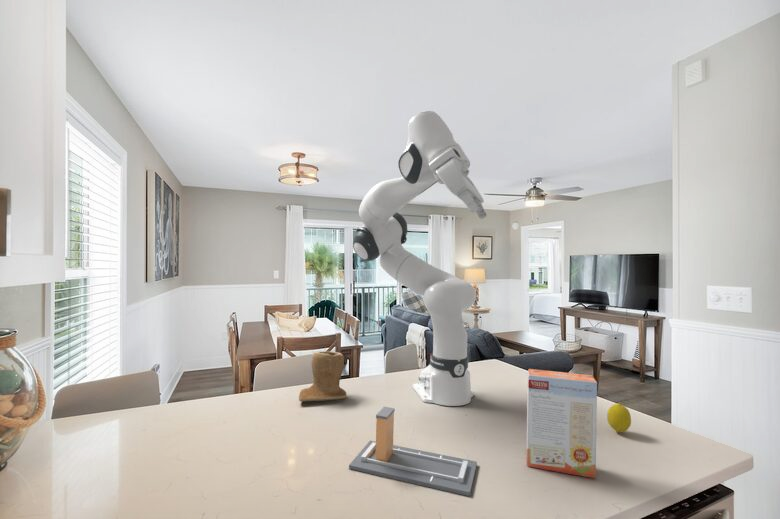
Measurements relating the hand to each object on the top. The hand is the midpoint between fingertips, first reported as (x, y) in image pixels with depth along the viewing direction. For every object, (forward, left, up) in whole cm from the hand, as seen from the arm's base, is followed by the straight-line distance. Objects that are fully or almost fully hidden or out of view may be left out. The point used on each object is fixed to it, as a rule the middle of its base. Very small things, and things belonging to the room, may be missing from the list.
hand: (479, 214), depth 88 cm
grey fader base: (-1, -15, -57) cm, 59 cm away
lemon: (+3, +45, -57) cm, 73 cm away
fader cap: (-6, -20, -57) cm, 60 cm away
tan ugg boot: (-48, -25, -57) cm, 79 cm away
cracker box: (+10, +16, -57) cm, 60 cm away
